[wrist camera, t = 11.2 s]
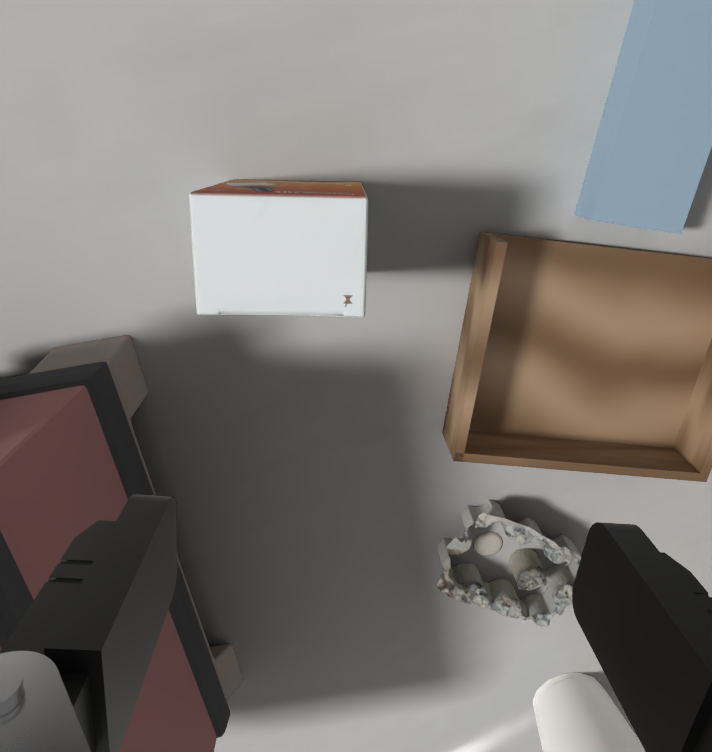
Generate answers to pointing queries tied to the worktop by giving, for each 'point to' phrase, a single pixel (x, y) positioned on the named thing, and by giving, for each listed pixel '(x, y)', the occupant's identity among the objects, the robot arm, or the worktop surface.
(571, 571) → the egg carton
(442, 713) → the worktop surface
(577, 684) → the foam cup
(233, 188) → the small box
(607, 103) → the light blue block
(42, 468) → the toaster
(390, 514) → the worktop surface
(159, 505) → the robot arm
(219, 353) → the worktop surface
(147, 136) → the worktop surface
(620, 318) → the walnut box
